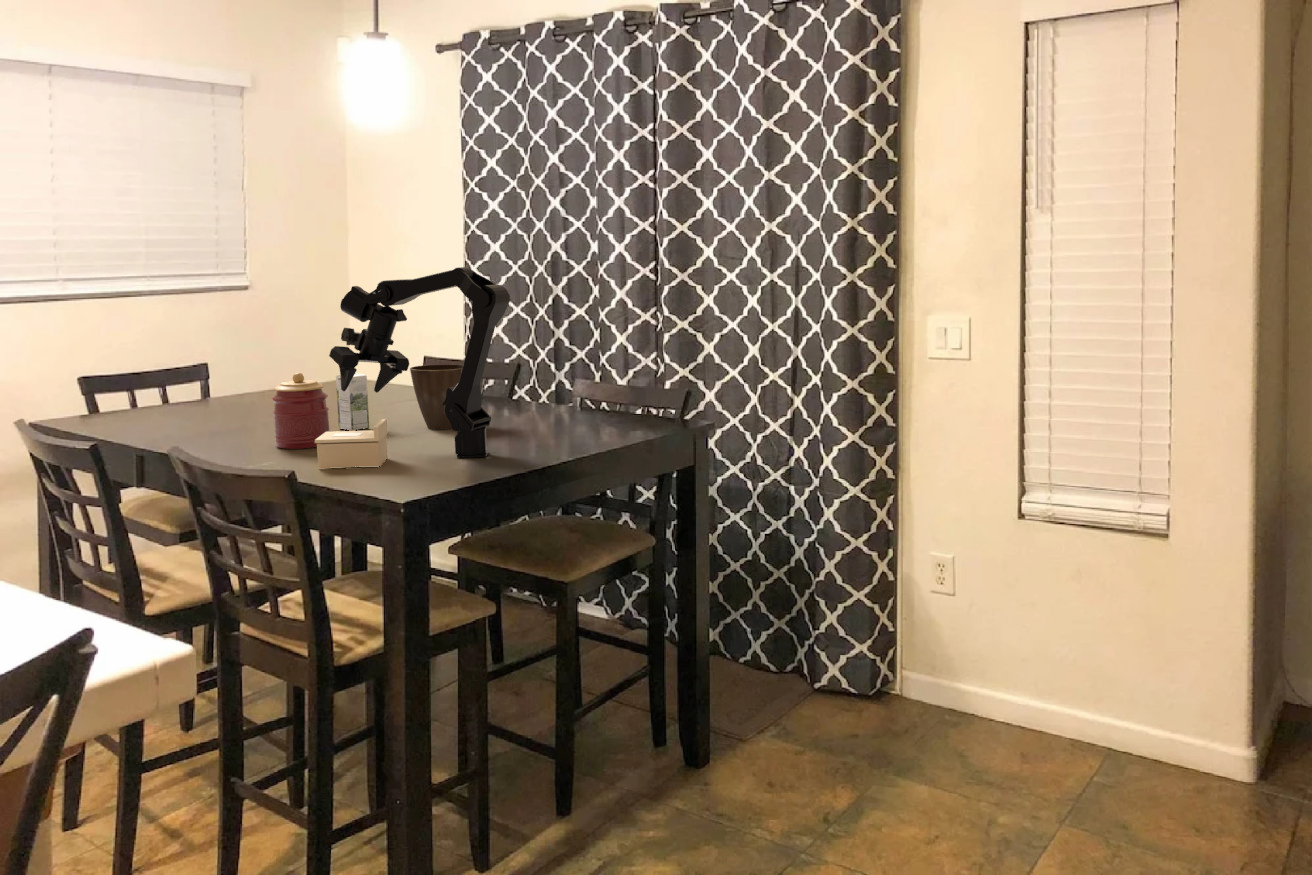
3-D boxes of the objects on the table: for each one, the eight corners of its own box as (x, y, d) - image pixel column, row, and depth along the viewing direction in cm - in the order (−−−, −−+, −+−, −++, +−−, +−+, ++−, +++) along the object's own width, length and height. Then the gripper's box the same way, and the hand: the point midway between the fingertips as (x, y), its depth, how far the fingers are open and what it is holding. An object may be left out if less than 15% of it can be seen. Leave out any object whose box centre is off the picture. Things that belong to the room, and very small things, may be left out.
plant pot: (424, 422, 297) (421, 363, 295) (478, 422, 295) (475, 363, 292) (405, 432, 283) (401, 370, 280) (460, 432, 281) (457, 370, 278)
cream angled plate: (387, 432, 247) (386, 418, 247) (379, 441, 237) (378, 426, 236) (326, 434, 246) (325, 420, 246) (314, 443, 236) (313, 428, 235)
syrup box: (356, 426, 293) (353, 372, 290) (370, 428, 289) (366, 374, 286) (338, 429, 288) (334, 374, 286) (352, 432, 285) (348, 376, 282)
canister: (263, 448, 264) (257, 375, 261) (298, 439, 276) (293, 369, 273) (308, 450, 259) (303, 376, 256) (342, 441, 271) (337, 370, 268)
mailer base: (387, 458, 248) (386, 434, 247) (379, 467, 238) (377, 442, 237) (329, 460, 247) (327, 436, 246) (318, 469, 237) (316, 444, 236)
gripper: (393, 319, 264) (373, 377, 269) (326, 312, 249) (307, 373, 254) (419, 339, 258) (399, 398, 263) (353, 334, 243) (332, 396, 248)
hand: (359, 391), depth 257 cm, fingers open, 9 cm apart
